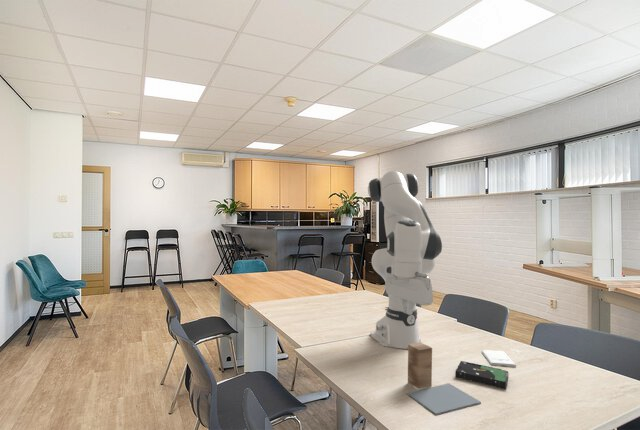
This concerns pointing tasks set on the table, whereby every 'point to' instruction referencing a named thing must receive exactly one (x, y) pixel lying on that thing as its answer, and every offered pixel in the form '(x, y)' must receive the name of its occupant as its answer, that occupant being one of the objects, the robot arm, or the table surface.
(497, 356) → the external hard drive
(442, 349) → the table surface
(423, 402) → the rubber mat
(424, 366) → the walnut block
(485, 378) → the disk drive
